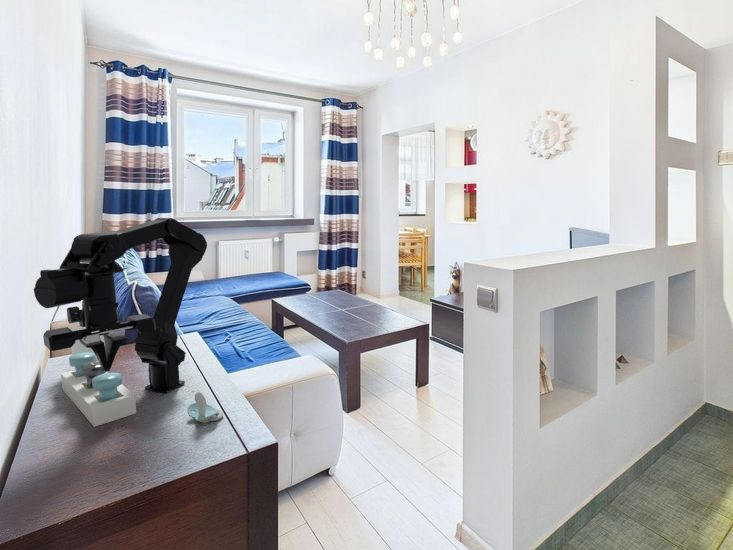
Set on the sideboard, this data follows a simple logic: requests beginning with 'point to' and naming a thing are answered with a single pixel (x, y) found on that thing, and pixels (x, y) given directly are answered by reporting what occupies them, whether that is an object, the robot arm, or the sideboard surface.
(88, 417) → the knob housing
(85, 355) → the far knob
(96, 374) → the pot dial
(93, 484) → the sideboard surface
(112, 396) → the near knob
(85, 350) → the white cup
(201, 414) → the pacifier
